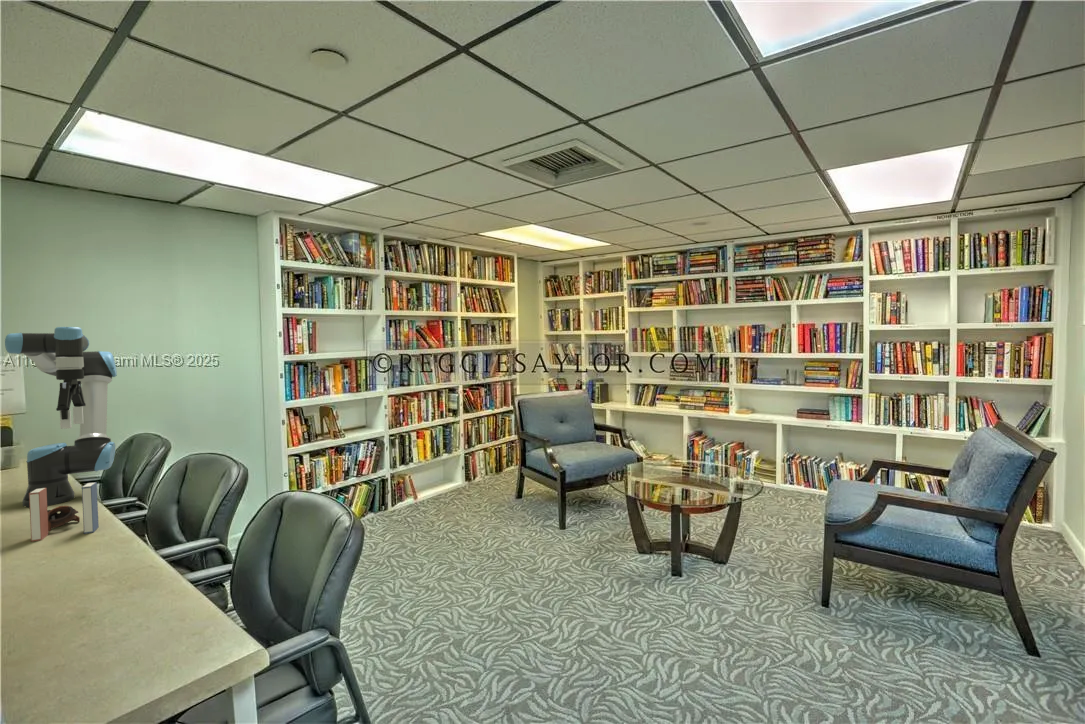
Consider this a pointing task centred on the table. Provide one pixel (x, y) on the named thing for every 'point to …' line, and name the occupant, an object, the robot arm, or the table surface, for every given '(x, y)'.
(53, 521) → the pottery mug
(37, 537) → the brick red book
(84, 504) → the navy book
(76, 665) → the table surface
